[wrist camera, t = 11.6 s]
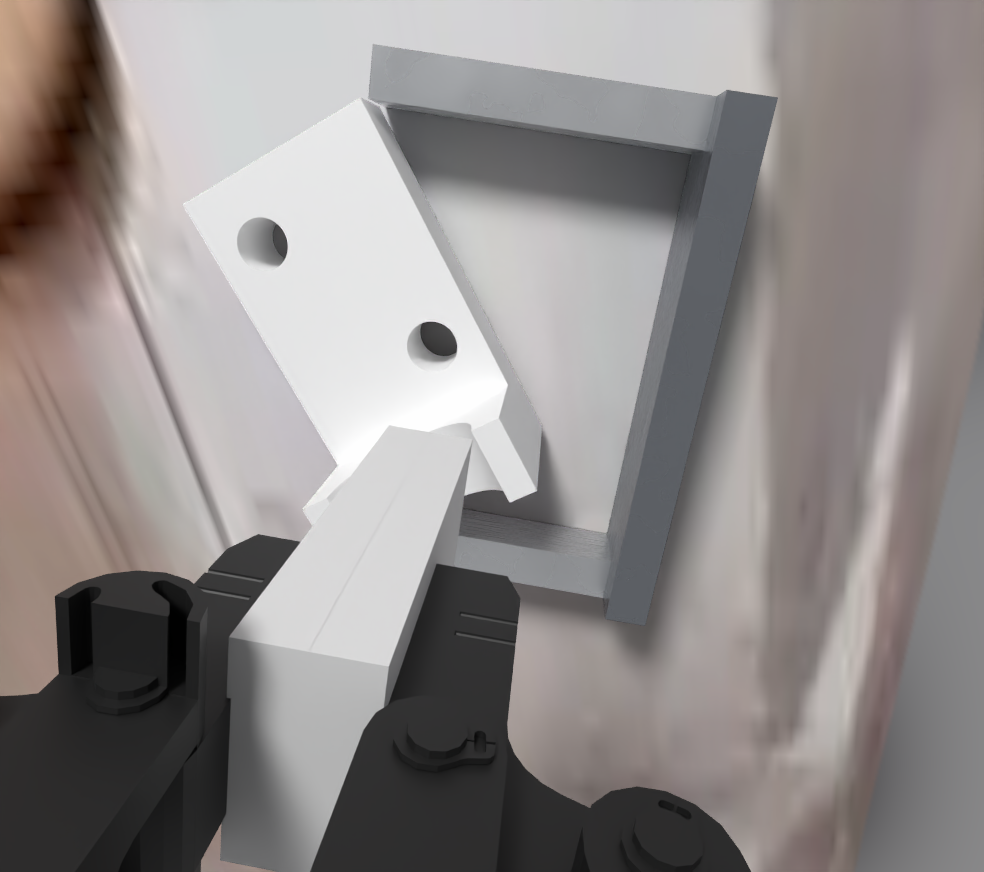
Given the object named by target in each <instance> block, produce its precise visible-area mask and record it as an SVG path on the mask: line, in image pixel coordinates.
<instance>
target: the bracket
mask: <svg viewBox="0 0 984 872" xmlns="http://www.w3.org/2000/svg"><path fill="white" fill-rule="evenodd" d="M182 205H183V206H184V208H185V210H186V212H187V213H188V215H189V217H190V218H191V220H192V222H193V223H194V225H195V227H196V228H197V230H198V232H199V233H200V235H201V237H202V238H203V240H204V242H205V243H206V245H207V247H208V248H209V250H210V252H211V253H212V255H213V257H214V258H215V260H216V262H217V263H218V265H219V267H220V268H221V270H222V272H223V274H224V275H225V277H226V279H227V280H228V282H229V284H230V285H231V287H232V289H233V290H234V292H235V294H236V295H237V297H238V299H239V300H240V302H241V304H242V305H243V307H244V309H245V310H246V312H247V314H248V315H249V317H250V319H251V320H252V322H253V324H254V325H255V327H256V329H257V330H258V332H259V334H260V336H261V337H262V339H263V341H264V342H265V344H266V346H267V347H268V349H269V351H270V352H271V354H272V356H273V357H274V359H275V361H276V362H277V364H278V366H279V367H280V369H281V371H282V372H283V374H284V376H285V377H286V379H287V381H288V382H289V384H290V386H291V387H292V389H293V391H294V392H295V394H296V396H297V398H298V399H299V401H300V403H301V404H302V406H303V408H304V409H305V411H306V413H307V414H308V416H309V418H310V419H311V421H312V423H313V424H314V426H315V428H316V429H317V431H318V433H319V434H320V436H321V438H322V439H323V441H324V443H325V444H326V446H327V448H328V449H329V451H330V453H331V455H332V456H333V458H334V460H335V461H336V463H337V465H338V466H337V467H336V469H335V470H334V471H333V472H332V474H331V475H330V476H329V477H328V478H327V480H326V481H325V482H324V483H323V485H322V486H321V487H320V488H319V489H318V491H317V492H316V493H315V494H314V496H313V497H312V498H311V499H310V501H309V502H308V503H307V504H306V505H305V507H304V508H303V509H302V510H303V512H304V513H305V515H306V517H307V518H308V520H309V522H310V523H311V525H312V526H313V525H314V524H315V522H316V521H317V520H318V519H319V517H320V516H321V515H322V513H323V512H324V511H325V509H326V508H327V507H328V505H329V504H330V503H331V501H332V500H333V499H334V497H335V496H336V495H337V493H338V492H339V491H340V489H341V488H342V487H343V485H344V484H345V483H346V482H347V480H348V479H349V478H350V476H351V475H352V474H353V472H354V471H355V470H356V468H357V467H358V466H359V464H360V463H361V462H362V460H363V459H364V458H365V456H366V455H367V454H368V452H369V451H370V450H371V448H372V447H373V446H374V444H375V443H376V442H377V441H378V439H379V438H380V437H381V435H382V434H383V433H384V431H385V430H386V429H387V427H388V426H389V425H391V426H397V427H402V428H408V429H414V430H420V431H426V432H431V433H437V434H443V435H449V436H455V437H461V438H466V439H472V440H473V441H472V447H471V454H470V461H469V468H468V474H467V481H466V488H465V495H468V494H471V493H475V492H479V491H485V490H500V491H504V493H505V495H506V497H507V499H508V501H509V502H513V501H515V500H517V499H520V498H522V497H524V496H526V495H529V494H531V493H533V492H536V491H537V485H538V473H539V460H540V447H541V435H542V425H541V423H540V421H539V419H538V417H537V415H536V413H535V411H534V409H533V407H532V405H531V403H530V401H529V399H528V397H527V395H526V393H525V391H524V389H523V387H522V385H521V384H520V382H519V380H518V378H517V376H516V374H515V372H514V370H513V368H512V366H511V364H510V362H509V360H508V358H507V356H506V354H505V352H504V350H503V348H502V346H501V344H500V342H499V340H498V338H497V336H496V334H495V333H494V331H493V329H492V327H491V325H490V323H489V321H488V319H487V317H486V315H485V313H484V311H483V309H482V307H481V305H480V303H479V301H478V299H477V297H476V295H475V293H474V291H473V289H472V287H471V285H470V283H469V281H468V280H467V278H466V276H465V274H464V272H463V270H462V268H461V266H460V264H459V262H458V260H457V258H456V256H455V254H454V252H453V250H452V248H451V246H450V244H449V242H448V240H447V238H446V236H445V234H444V232H443V230H442V229H441V227H440V225H439V223H438V221H437V219H436V217H435V215H434V213H433V211H432V209H431V207H430V205H429V203H428V201H427V199H426V197H425V195H424V193H423V191H422V189H421V187H420V185H419V183H418V181H417V179H416V177H415V176H414V174H413V172H412V170H411V168H410V166H409V164H408V162H407V160H406V158H405V156H404V154H403V152H402V150H401V148H400V146H399V144H398V142H397V140H396V138H395V136H394V134H393V132H392V130H391V128H390V126H389V125H388V123H387V121H386V119H385V117H384V115H383V113H382V111H381V109H380V107H379V106H377V105H375V104H373V103H371V102H369V101H367V100H364V99H362V98H359V99H357V100H355V101H354V102H352V103H350V104H349V105H347V106H345V107H344V108H342V109H340V110H339V111H337V112H335V113H334V114H332V115H330V116H329V117H327V118H325V119H324V120H322V121H320V122H319V123H317V124H315V125H314V126H312V127H310V128H309V129H307V130H305V131H304V132H302V133H300V134H299V135H297V136H295V137H294V138H292V139H290V140H289V141H287V142H285V143H284V144H282V145H280V146H279V147H277V148H275V149H274V150H272V151H270V152H269V153H267V154H265V155H264V156H262V157H260V158H259V159H257V160H255V161H254V162H252V163H250V164H249V165H247V166H245V167H244V168H242V169H240V170H239V171H237V172H235V173H234V174H232V175H231V176H229V177H227V178H226V179H224V180H222V181H221V182H219V183H217V184H216V185H214V186H212V187H211V188H209V189H207V190H206V191H204V192H202V193H201V194H199V195H197V196H196V197H194V198H192V199H191V200H189V201H187V202H186V203H184V204H182ZM276 224H278V225H279V226H280V227H281V229H282V230H283V232H284V233H285V236H286V238H287V243H288V251H287V255H286V258H283V257H282V256H281V255H280V254H279V253H278V251H277V250H276V248H275V246H274V243H273V230H274V227H275V225H276ZM424 322H438V323H441V324H443V325H445V326H446V327H448V328H449V329H450V330H451V331H452V333H453V334H454V336H455V338H456V341H457V353H455V354H453V355H450V356H439V355H436V354H433V353H432V352H430V351H429V350H428V349H427V348H426V347H425V346H424V344H423V342H422V339H421V334H420V330H421V325H422V323H424ZM465 495H464V496H465Z"/></svg>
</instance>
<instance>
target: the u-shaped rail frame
mask: <svg viewBox="0 0 984 872" xmlns="http://www.w3.org/2000/svg"><path fill="white" fill-rule="evenodd" d="M368 99H370V100H372V101H374V102H376V103H378V104H380V105H382V106H384V107H388V108H394V109H401V110H407V111H414V112H420V113H427V114H433V115H440V116H446V117H453V118H459V119H466V120H472V121H478V122H485V123H491V124H498V125H504V126H511V127H517V128H524V129H530V130H537V131H543V132H550V133H556V134H563V135H569V136H576V137H582V138H588V139H595V140H601V141H608V142H614V143H621V144H627V145H634V146H640V147H647V148H653V149H660V150H666V151H673V152H679V153H686V154H691V157H690V162H689V166H688V171H687V175H686V180H685V184H684V189H683V193H682V198H681V202H680V207H679V211H678V216H677V220H676V225H675V229H674V234H673V238H672V243H671V247H670V252H669V257H668V261H667V266H666V270H665V275H664V279H663V284H662V288H661V293H660V297H659V302H658V306H657V311H656V315H655V320H654V324H653V329H652V333H651V338H650V342H649V347H648V351H647V356H646V360H645V365H644V369H643V374H642V378H641V383H640V387H639V392H638V397H637V401H636V406H635V410H634V415H633V419H632V424H631V428H630V433H629V437H628V442H627V446H626V451H625V455H624V460H623V464H622V469H621V473H620V478H619V482H618V487H617V491H616V496H615V500H614V505H613V509H612V514H611V518H610V523H609V527H608V532H607V534H605V533H599V532H594V531H588V530H582V529H576V528H571V527H565V526H559V525H553V524H547V523H542V522H536V521H530V520H524V519H519V518H513V517H507V516H501V515H496V514H490V513H484V512H478V511H472V510H467V509H462V515H461V521H460V528H459V535H458V542H457V548H456V555H455V562H454V567H458V568H464V569H470V570H475V571H481V572H486V573H492V574H498V575H503V576H508V578H509V580H510V581H511V582H515V583H521V584H527V585H532V586H538V587H544V588H549V589H555V590H561V591H566V592H572V593H578V594H583V595H589V596H595V597H600V598H603V603H604V612H605V619H609V620H614V621H620V622H626V623H631V624H637V625H643V626H645V624H646V620H647V616H648V612H649V608H650V604H651V600H652V596H653V592H654V588H655V584H656V580H657V576H658V572H659V568H660V564H661V560H662V557H663V553H664V549H665V545H666V541H667V537H668V533H669V529H670V525H671V521H672V517H673V513H674V509H675V505H676V501H677V497H678V493H679V489H680V485H681V481H682V477H683V473H684V469H685V465H686V461H687V457H688V453H689V449H690V445H691V441H692V437H693V433H694V429H695V425H696V421H697V417H698V413H699V409H700V405H701V401H702V397H703V393H704V389H705V385H706V382H707V378H708V374H709V370H710V366H711V362H712V358H713V354H714V350H715V346H716V342H717V338H718V334H719V330H720V326H721V322H722V318H723V314H724V310H725V306H726V302H727V298H728V294H729V290H730V286H731V282H732V278H733V274H734V270H735V266H736V262H737V258H738V254H739V250H740V246H741V242H742V238H743V234H744V230H745V226H746V222H747V218H748V214H749V210H750V206H751V203H752V199H753V195H754V191H755V187H756V183H757V179H758V175H759V171H760V167H761V163H762V159H763V155H764V151H765V147H766V143H767V139H768V135H769V131H770V127H771V123H772V119H773V115H774V111H775V107H776V103H777V99H778V98H777V97H770V96H763V95H757V94H750V93H744V92H737V91H730V90H726V91H724V92H723V93H721V94H720V95H718V96H711V95H704V94H698V93H691V92H685V91H678V90H671V89H665V88H658V87H652V86H645V85H638V84H632V83H625V82H619V81H612V80H605V79H599V78H592V77H586V76H579V75H573V74H566V73H559V72H553V71H546V70H540V69H533V68H526V67H520V66H513V65H507V64H500V63H493V62H487V61H480V60H474V59H467V58H460V57H454V56H447V55H441V54H434V53H427V52H421V51H414V50H408V49H401V48H394V47H388V46H381V45H375V44H373V49H372V61H371V73H370V84H369V96H368Z"/></svg>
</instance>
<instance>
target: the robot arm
mask: <svg viewBox="0 0 984 872" xmlns="http://www.w3.org/2000/svg"><path fill="white" fill-rule="evenodd" d="M472 441H473V440H472V439H466V438H461V437H455V436H449V435H443V434H437V433H431V432H426V431H420V430H414V429H408V428H402V427H397V426H391V425H389V426H388V427H387V429H386V430H385V431H384V433H383V434H382V435H381V437H380V438H379V439H378V441H377V442H376V443H375V444H374V446H373V447H372V448H371V450H370V451H369V452H368V454H367V455H366V456H365V458H364V459H363V460H362V462H361V463H360V464H359V466H358V467H357V468H356V470H355V471H354V472H353V474H352V475H351V476H350V478H349V479H348V480H347V482H346V483H345V484H344V485H343V487H342V488H341V489H340V491H339V492H338V493H337V495H336V496H335V497H334V499H333V500H332V501H331V503H330V504H329V505H328V507H327V508H326V509H325V511H324V512H323V513H322V515H321V516H320V517H319V519H318V520H317V521H316V522H315V524H314V525H313V526H312V528H311V529H310V530H309V532H308V533H307V534H306V536H305V537H304V538H303V540H302V541H301V542H298V541H293V540H287V539H281V538H276V537H270V536H265V535H259V534H258V535H256V536H254V537H251V538H249V539H247V540H245V541H243V542H241V543H239V544H236V545H234V546H232V547H230V548H228V549H227V550H226V551H225V552H224V553H223V554H222V555H221V556H220V557H219V558H218V559H217V560H216V561H215V563H214V564H213V565H212V566H211V567H210V568H209V570H208V573H204V574H203V575H202V576H201V577H200V578H199V579H198V580H197V581H196V583H195V584H193V583H192V582H191V581H189V580H187V579H184V578H181V577H178V576H174V575H171V574H168V573H163V572H149V571H130V572H121V573H112V574H105V575H102V576H99V577H96V578H92V579H89V580H86V581H82V582H79V583H77V584H75V585H73V586H72V587H70V588H68V589H66V590H65V591H63V592H61V593H59V594H58V595H56V596H55V608H56V628H57V648H58V668H59V674H58V675H57V676H56V677H55V678H54V679H53V680H52V681H51V682H50V683H49V684H48V685H47V686H46V687H45V688H43V689H42V690H41V691H40V692H39V693H38V694H29V695H18V696H0V872H201V859H202V857H203V856H204V854H205V852H206V850H207V848H208V846H209V845H210V843H211V841H212V839H213V837H214V835H215V833H216V832H217V830H218V828H219V826H220V824H221V822H222V828H221V854H220V860H222V861H227V862H232V863H237V864H242V865H247V866H252V867H257V868H262V869H267V870H272V871H277V872H751V871H750V869H749V867H748V865H747V863H746V861H745V859H744V857H743V855H742V854H741V852H740V850H739V849H738V847H737V846H736V845H735V843H734V842H733V841H732V839H731V838H730V837H729V835H728V834H727V832H726V831H725V830H724V828H723V827H722V826H721V825H720V824H719V823H718V822H717V821H715V820H714V819H713V818H712V817H710V816H709V815H708V814H706V813H705V812H704V811H703V810H701V809H700V808H699V807H698V806H696V805H695V804H693V803H691V802H689V801H686V800H684V799H682V798H680V797H677V796H675V795H673V794H671V793H669V792H666V791H661V790H655V789H648V788H642V787H632V788H626V789H621V790H615V791H611V792H609V793H608V794H606V795H605V796H604V797H602V798H601V799H599V800H598V801H596V802H595V803H594V804H592V806H591V808H588V807H586V806H584V805H582V804H580V803H578V802H576V801H574V800H572V799H569V798H567V797H565V796H563V795H561V794H559V793H558V792H556V791H554V790H553V789H551V788H549V787H547V786H546V785H544V784H542V783H541V782H540V781H539V780H538V779H536V778H535V777H534V776H533V775H532V774H531V773H530V772H528V771H527V770H526V769H525V768H524V766H523V765H522V764H521V762H520V761H519V759H518V758H517V757H516V755H515V754H514V752H513V749H512V747H511V744H510V742H509V739H508V729H507V720H508V711H509V701H510V692H511V682H512V673H513V663H514V654H515V643H516V635H517V624H518V616H519V607H520V597H519V595H518V594H517V592H516V590H515V588H514V587H513V585H512V583H511V581H510V580H509V578H508V576H503V575H498V574H492V573H486V572H481V571H475V570H470V569H464V568H458V567H454V562H455V555H456V548H457V542H458V535H459V528H460V521H461V515H462V508H463V501H464V495H465V488H466V481H467V474H468V468H469V461H470V454H471V447H472Z"/></svg>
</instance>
